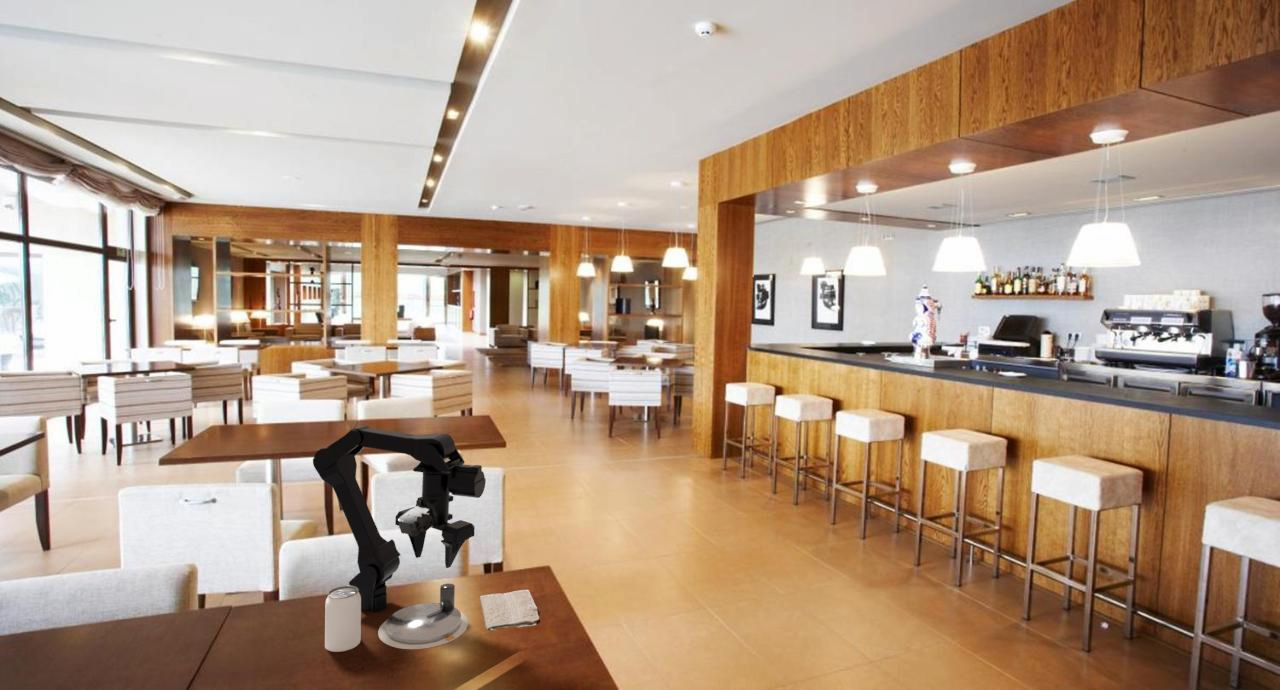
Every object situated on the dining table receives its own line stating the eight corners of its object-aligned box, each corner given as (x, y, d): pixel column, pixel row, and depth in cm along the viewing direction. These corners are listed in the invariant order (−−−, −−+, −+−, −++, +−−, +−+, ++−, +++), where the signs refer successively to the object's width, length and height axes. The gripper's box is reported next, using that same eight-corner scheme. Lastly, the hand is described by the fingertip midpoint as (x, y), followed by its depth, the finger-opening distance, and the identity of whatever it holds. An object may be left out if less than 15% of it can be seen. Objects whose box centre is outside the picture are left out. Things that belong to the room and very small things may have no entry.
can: (346, 661, 126) (347, 600, 125) (317, 656, 127) (317, 596, 126) (367, 644, 132) (368, 586, 131) (339, 640, 133) (339, 583, 133)
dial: (416, 652, 127) (417, 620, 126) (370, 629, 135) (371, 598, 135) (475, 623, 139) (476, 593, 139) (430, 603, 148) (430, 575, 147)
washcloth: (486, 641, 136) (486, 627, 136) (477, 603, 153) (477, 590, 153) (542, 633, 140) (543, 619, 140) (527, 597, 157) (527, 585, 157)
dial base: (359, 637, 135) (360, 628, 135) (431, 605, 150) (431, 598, 150) (414, 666, 125) (415, 657, 125) (485, 629, 140) (485, 621, 140)
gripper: (375, 492, 139) (373, 563, 140) (438, 510, 130) (435, 586, 131) (416, 481, 149) (414, 548, 150) (477, 497, 140) (474, 568, 141)
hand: (433, 562), depth 143 cm, fingers open, 9 cm apart
